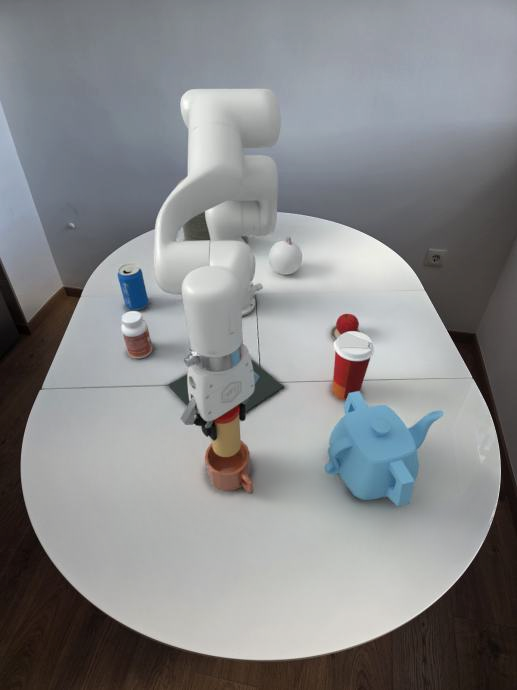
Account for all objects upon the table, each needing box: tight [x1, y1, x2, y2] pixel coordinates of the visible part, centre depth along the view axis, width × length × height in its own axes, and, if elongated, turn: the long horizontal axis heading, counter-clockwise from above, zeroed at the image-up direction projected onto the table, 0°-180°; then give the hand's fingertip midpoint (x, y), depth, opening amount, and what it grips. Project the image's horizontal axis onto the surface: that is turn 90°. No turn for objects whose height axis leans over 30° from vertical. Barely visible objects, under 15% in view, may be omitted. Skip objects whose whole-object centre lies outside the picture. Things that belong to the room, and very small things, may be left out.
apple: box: [329, 313, 362, 341], centre depth 111 cm, size 8×8×6 cm
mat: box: [167, 359, 285, 414], centre depth 100 cm, size 20×18×1 cm
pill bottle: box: [120, 310, 153, 359], centre depth 105 cm, size 6×6×11 cm
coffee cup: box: [332, 331, 375, 402], centre depth 94 cm, size 8×8×15 cm
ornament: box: [267, 236, 303, 276], centre depth 132 cm, size 10×10×12 cm
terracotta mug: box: [204, 439, 254, 495], centre depth 81 cm, size 11×8×6 cm
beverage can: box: [117, 263, 149, 311], centre depth 120 cm, size 6×6×12 cm
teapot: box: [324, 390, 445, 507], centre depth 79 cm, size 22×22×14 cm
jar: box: [210, 404, 242, 457], centre depth 74 cm, size 5×5×11 cm
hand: (224, 424), depth 74 cm, fingers closed on jar, 5 cm apart
